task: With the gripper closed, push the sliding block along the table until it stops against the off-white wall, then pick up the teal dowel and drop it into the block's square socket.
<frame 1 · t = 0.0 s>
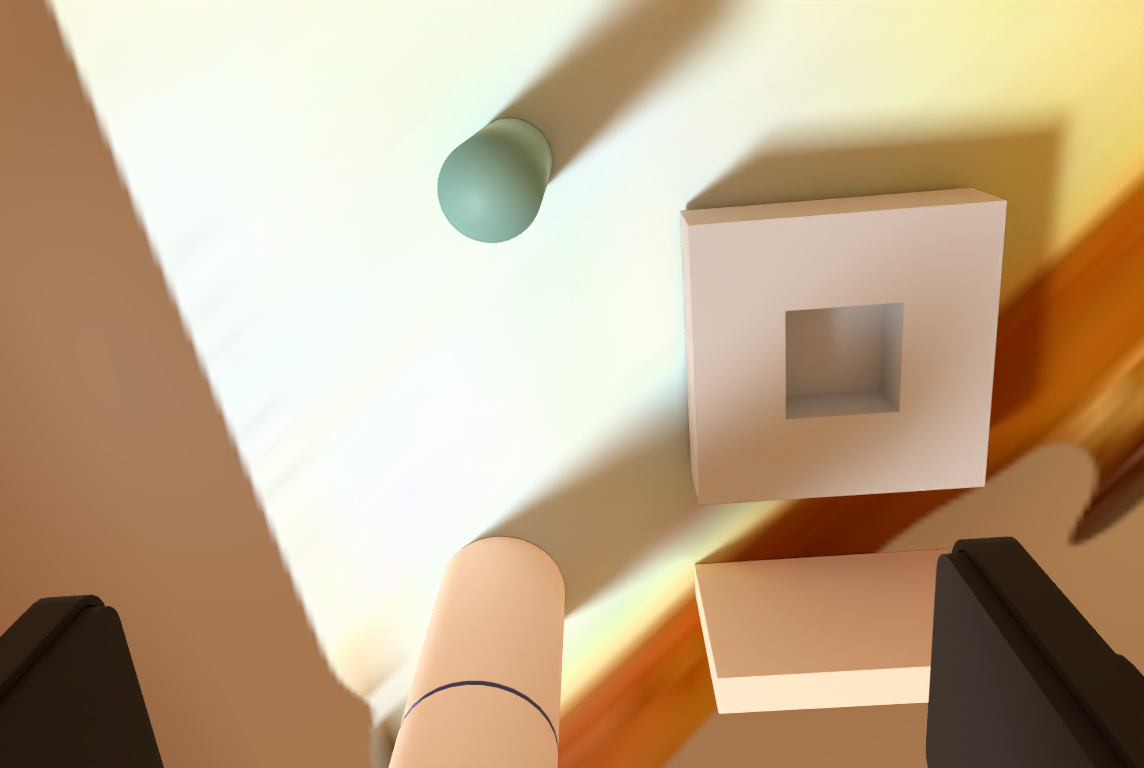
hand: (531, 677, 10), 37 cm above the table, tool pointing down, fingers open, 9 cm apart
socket block: (832, 349, 45), point 2 cm above the table, slide at 0.0 cm
wall: (819, 572, 52), on the table
dowel: (510, 160, 44), on the table
cylindrical container: (503, 589, 53), on the table
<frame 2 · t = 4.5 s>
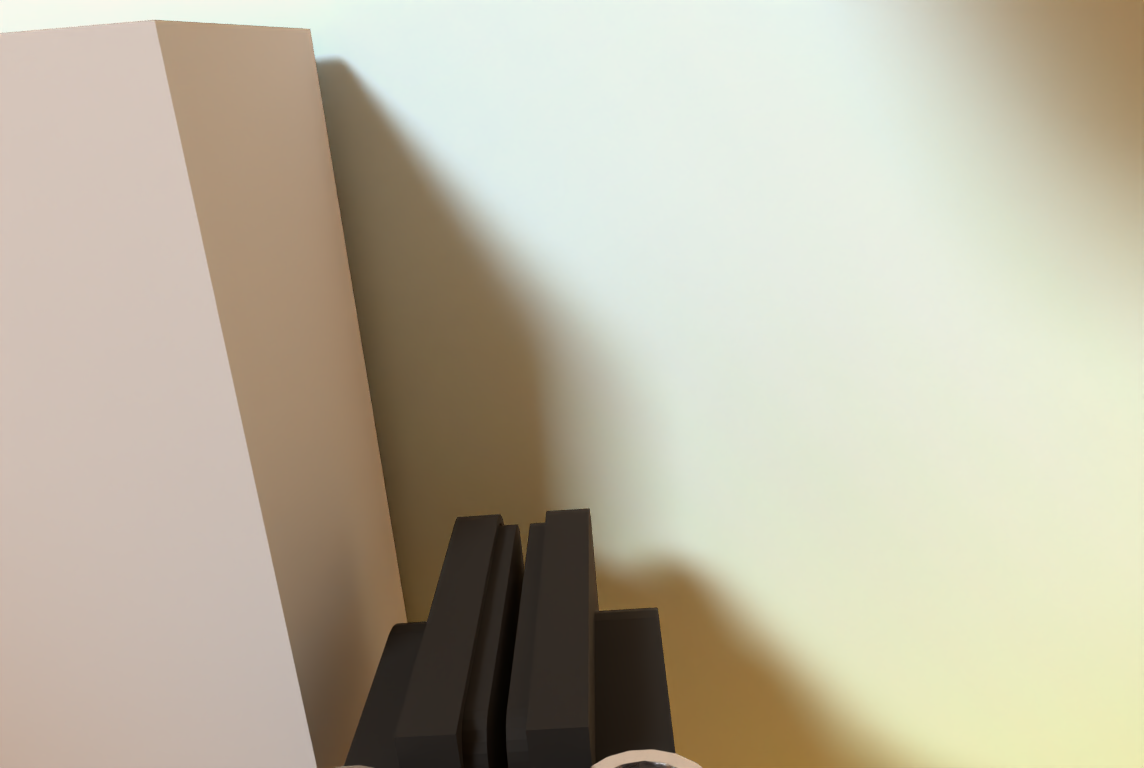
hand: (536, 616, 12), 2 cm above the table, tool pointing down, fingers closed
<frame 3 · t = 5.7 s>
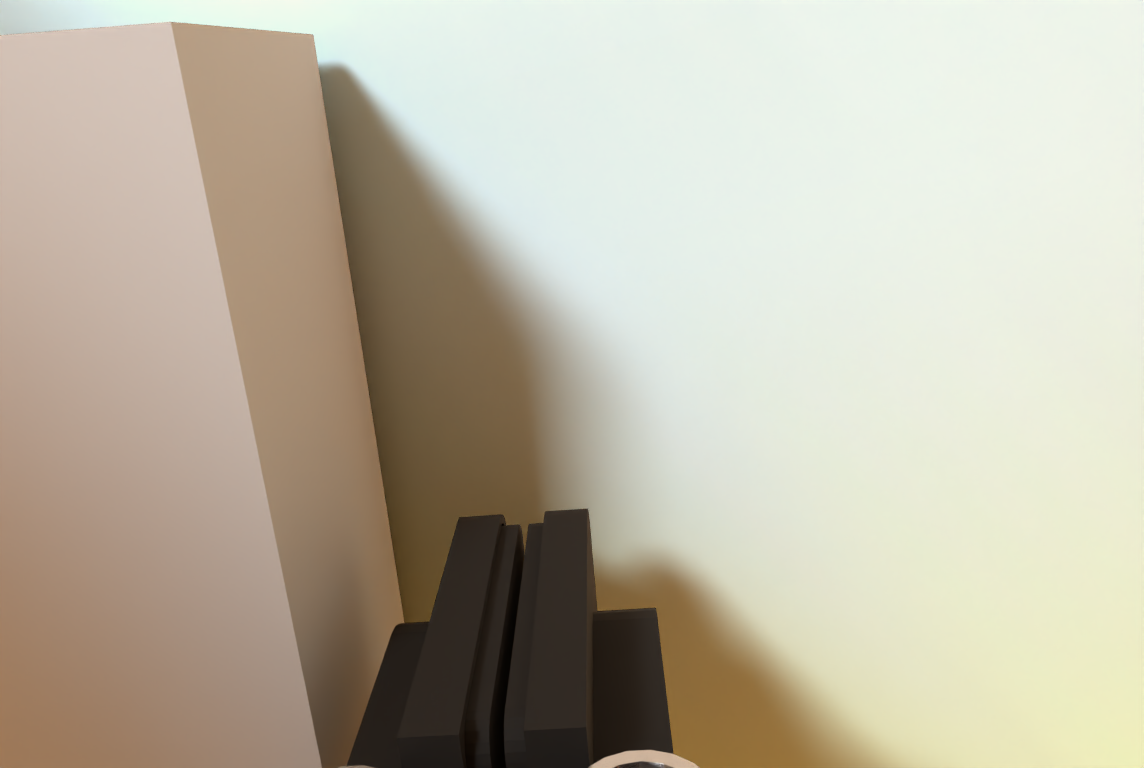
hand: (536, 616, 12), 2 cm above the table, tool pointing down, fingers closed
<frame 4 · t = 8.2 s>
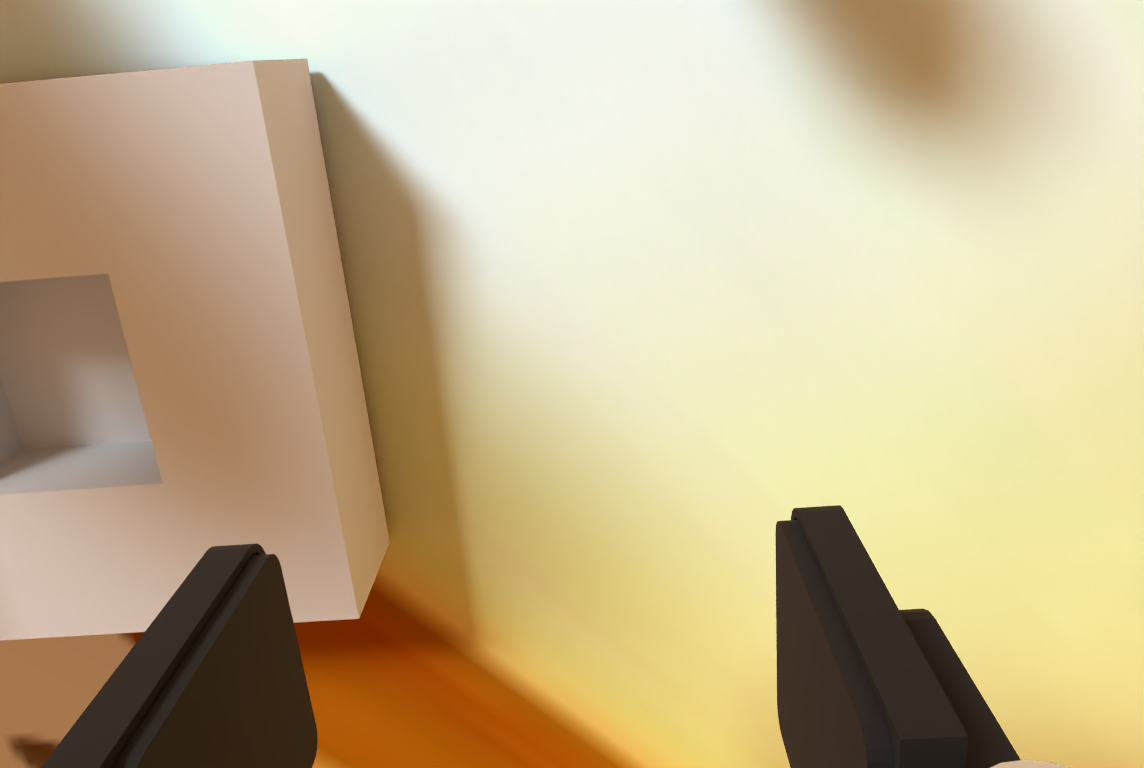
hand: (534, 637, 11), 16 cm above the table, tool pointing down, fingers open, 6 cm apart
socket block: (71, 364, 24), point 2 cm above the table, slide at 6.0 cm, touching wall
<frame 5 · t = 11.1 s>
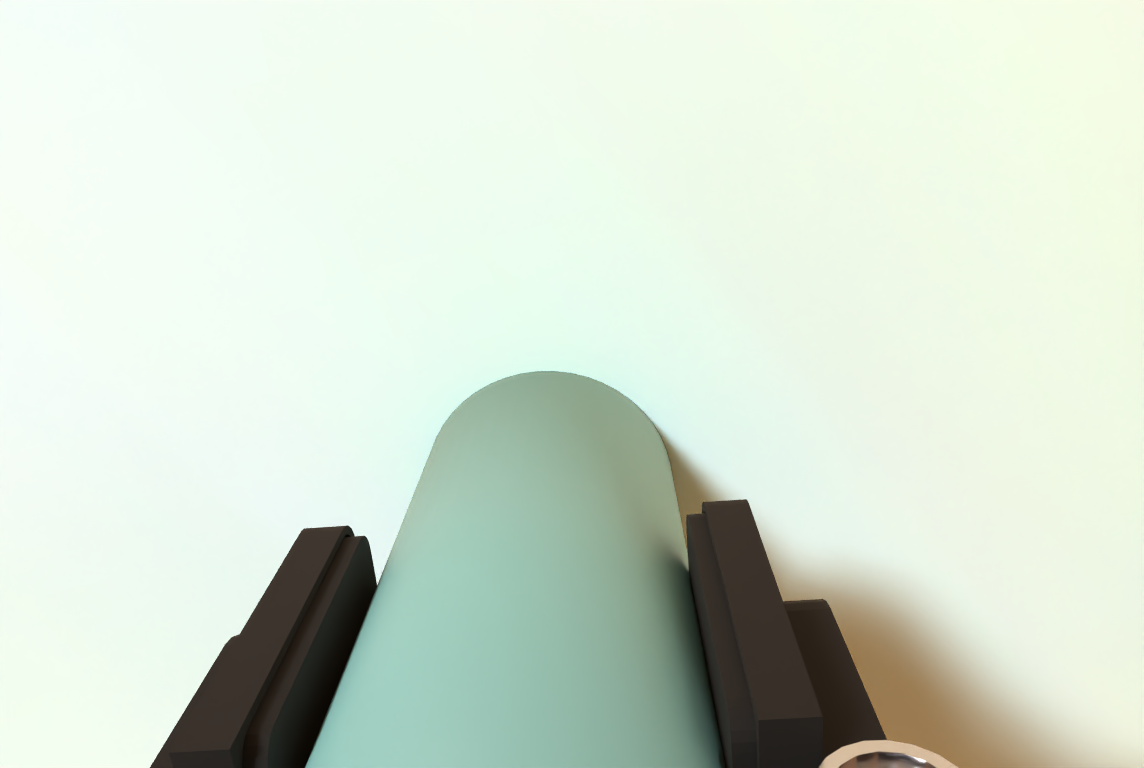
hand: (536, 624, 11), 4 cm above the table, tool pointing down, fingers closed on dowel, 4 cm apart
dowel: (549, 486, 15), on the table, touching gripper
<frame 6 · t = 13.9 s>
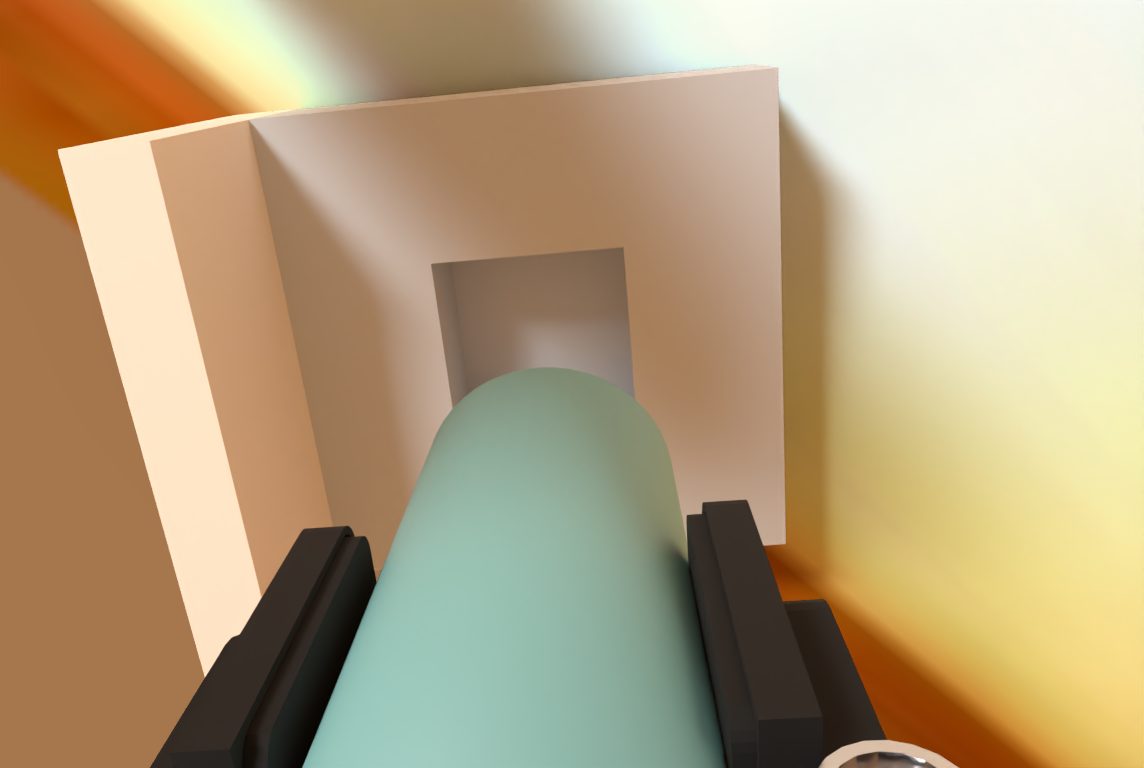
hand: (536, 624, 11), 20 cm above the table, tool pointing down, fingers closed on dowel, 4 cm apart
socket block: (541, 327, 28), point 2 cm above the table, slide at 6.0 cm, touching wall
wall: (310, 326, 31), on the table
dowel: (549, 483, 15), point 16 cm above the table, touching gripper
when the fingers open (6 cm above the table, at t = 17.0 s): dowel stays where it is, resting on socket block.
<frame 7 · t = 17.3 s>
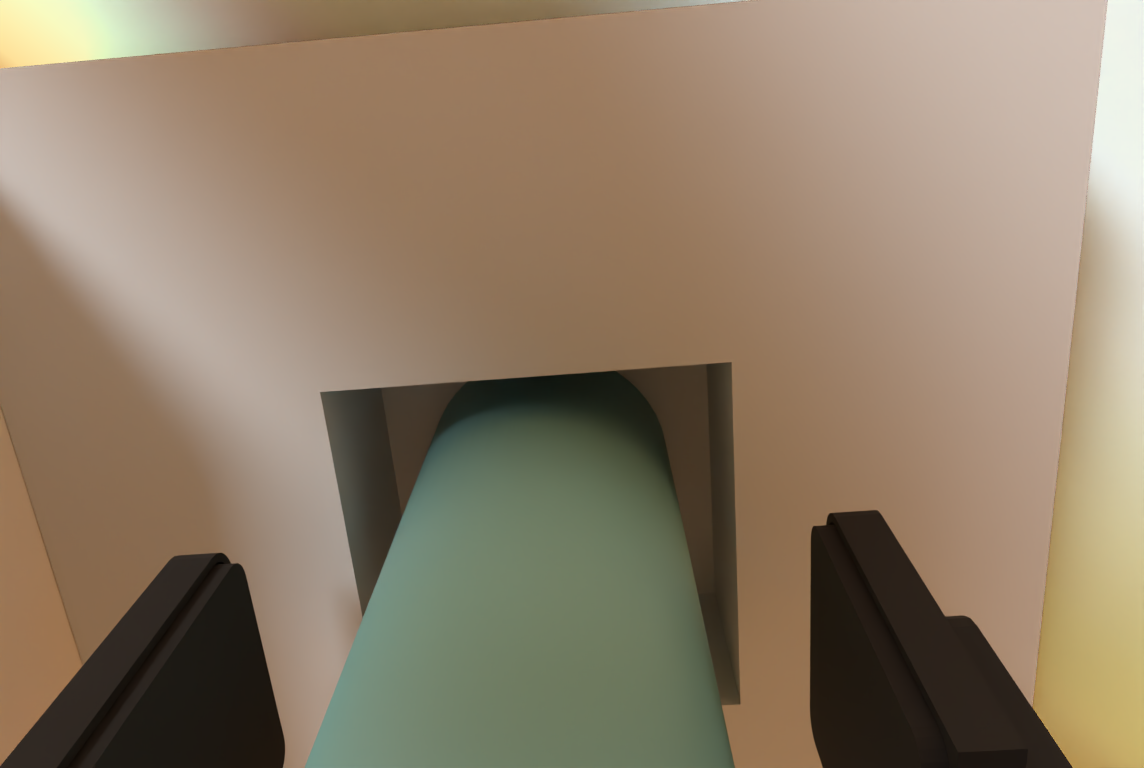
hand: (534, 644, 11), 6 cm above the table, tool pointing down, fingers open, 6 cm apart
socket block: (549, 493, 15), point 2 cm above the table, slide at 6.0 cm, touching dowel
wall: (130, 466, 17), on the table
dowel: (549, 463, 16), point 1 cm above the table, touching socket block
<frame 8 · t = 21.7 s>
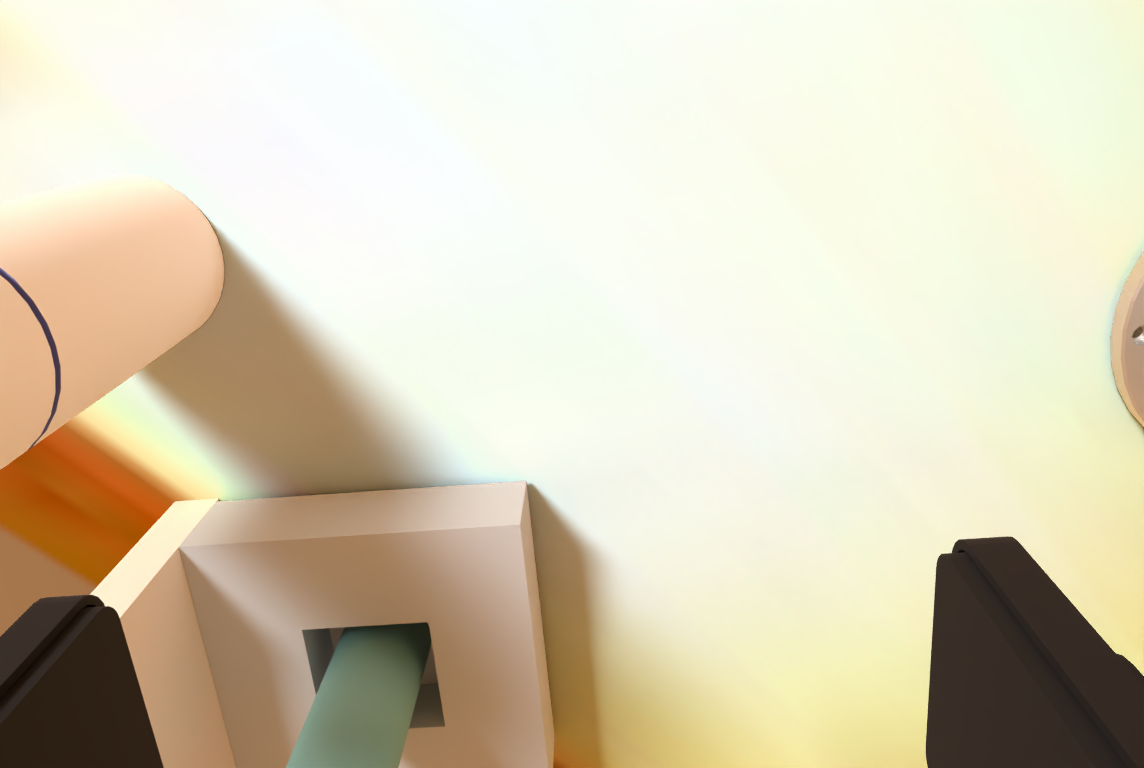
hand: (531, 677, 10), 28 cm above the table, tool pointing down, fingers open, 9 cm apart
socket block: (384, 650, 41), point 2 cm above the table, slide at 6.0 cm, touching dowel
wall: (229, 630, 44), on the table
dowel: (388, 636, 42), point 1 cm above the table, touching socket block
cylindrical container: (139, 260, 38), on the table
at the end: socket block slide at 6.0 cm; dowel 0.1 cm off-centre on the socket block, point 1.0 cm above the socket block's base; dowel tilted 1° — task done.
